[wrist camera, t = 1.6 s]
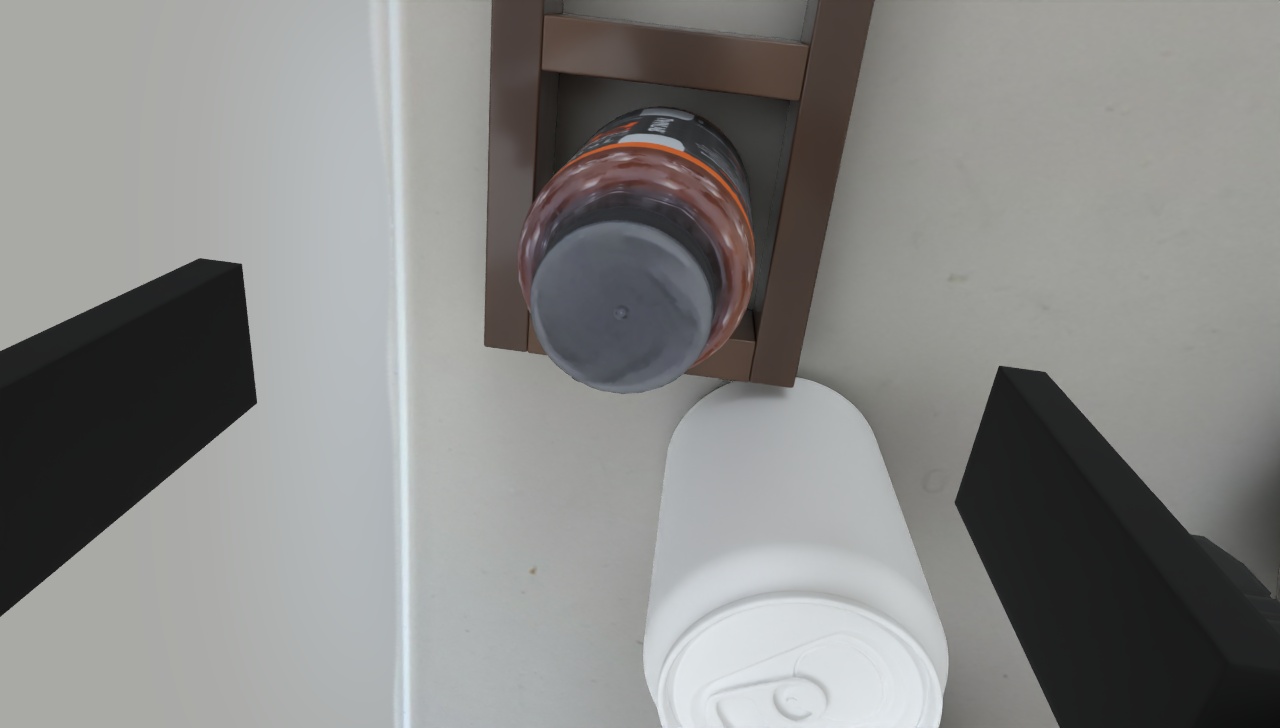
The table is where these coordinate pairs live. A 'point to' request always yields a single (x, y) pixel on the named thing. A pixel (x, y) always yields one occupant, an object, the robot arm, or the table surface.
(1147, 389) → the table surface
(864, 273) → the table surface
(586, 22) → the rack
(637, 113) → the supplement bottle
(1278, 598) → the bowl
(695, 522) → the beverage can
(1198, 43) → the table surface
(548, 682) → the table surface
